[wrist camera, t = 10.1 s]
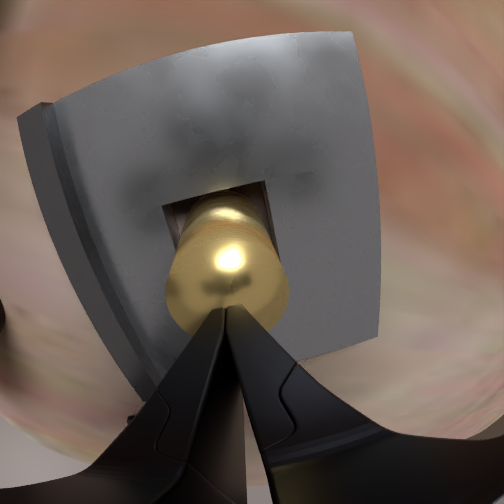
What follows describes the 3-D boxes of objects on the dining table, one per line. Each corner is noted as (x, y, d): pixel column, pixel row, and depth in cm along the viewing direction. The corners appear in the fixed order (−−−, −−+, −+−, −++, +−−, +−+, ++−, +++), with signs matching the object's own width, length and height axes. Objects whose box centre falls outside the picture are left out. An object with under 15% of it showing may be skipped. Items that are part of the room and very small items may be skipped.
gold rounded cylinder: (267, 251, 17) (296, 330, 10) (197, 267, 16) (188, 353, 10) (252, 181, 15) (278, 225, 8) (177, 200, 15) (147, 257, 8)
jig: (366, 319, 20) (385, 347, 17) (149, 367, 19) (143, 401, 16) (336, 41, 12) (362, 25, 9) (49, 115, 12) (16, 117, 9)
